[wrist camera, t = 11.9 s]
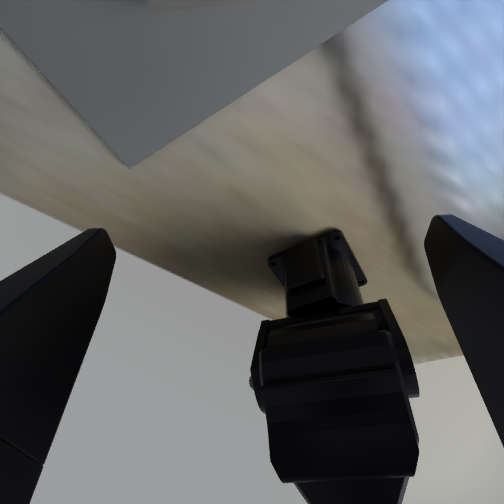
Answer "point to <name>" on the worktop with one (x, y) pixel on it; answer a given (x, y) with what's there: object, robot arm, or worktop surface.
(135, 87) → the mat
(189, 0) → the tan wooden block
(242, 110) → the worktop surface
